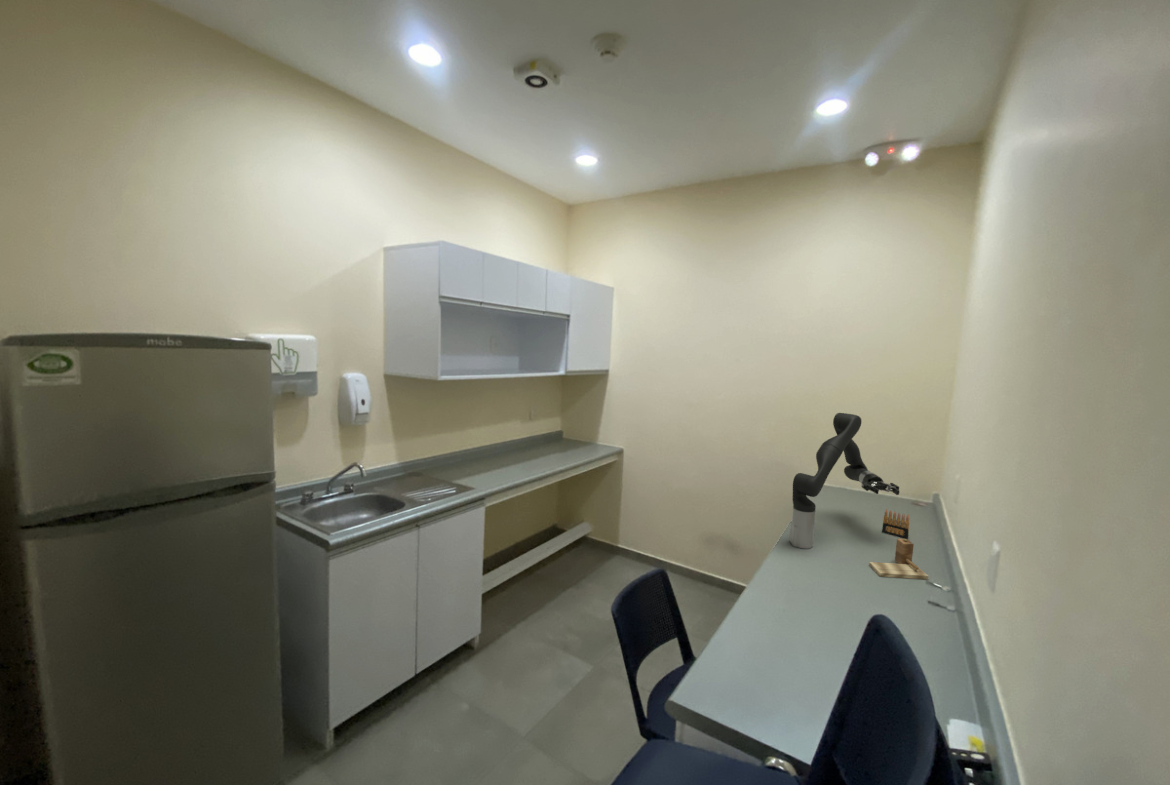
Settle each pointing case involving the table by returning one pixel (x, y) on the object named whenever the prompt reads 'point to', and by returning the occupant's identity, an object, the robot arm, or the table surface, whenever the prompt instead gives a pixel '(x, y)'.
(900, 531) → the ammunition clip
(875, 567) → the board
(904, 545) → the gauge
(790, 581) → the table surface
